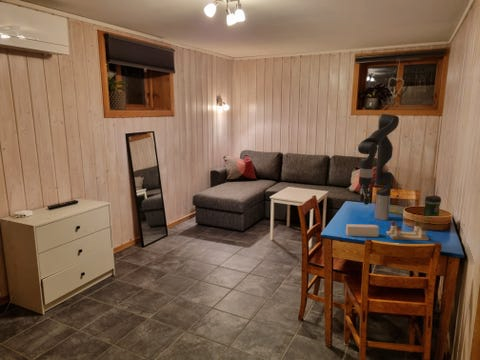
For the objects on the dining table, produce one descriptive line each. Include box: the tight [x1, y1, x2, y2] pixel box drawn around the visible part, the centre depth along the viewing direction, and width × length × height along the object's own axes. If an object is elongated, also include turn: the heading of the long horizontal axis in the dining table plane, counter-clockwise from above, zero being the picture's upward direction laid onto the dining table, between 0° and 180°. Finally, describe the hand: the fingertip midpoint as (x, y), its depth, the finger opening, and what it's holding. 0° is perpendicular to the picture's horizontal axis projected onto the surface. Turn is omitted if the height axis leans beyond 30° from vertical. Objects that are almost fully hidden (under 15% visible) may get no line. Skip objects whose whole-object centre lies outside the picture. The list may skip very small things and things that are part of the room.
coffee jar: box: [423, 195, 442, 217], centre depth 230 cm, size 10×8×19 cm
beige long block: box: [345, 223, 380, 238], centre depth 207 cm, size 5×18×6 cm, turn 85°
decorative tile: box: [389, 204, 406, 217], centre depth 258 cm, size 19×20×4 cm
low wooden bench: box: [386, 220, 430, 241], centre depth 203 cm, size 11×20×8 cm, turn 87°
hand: (364, 202), depth 204 cm, fingers open, 8 cm apart
